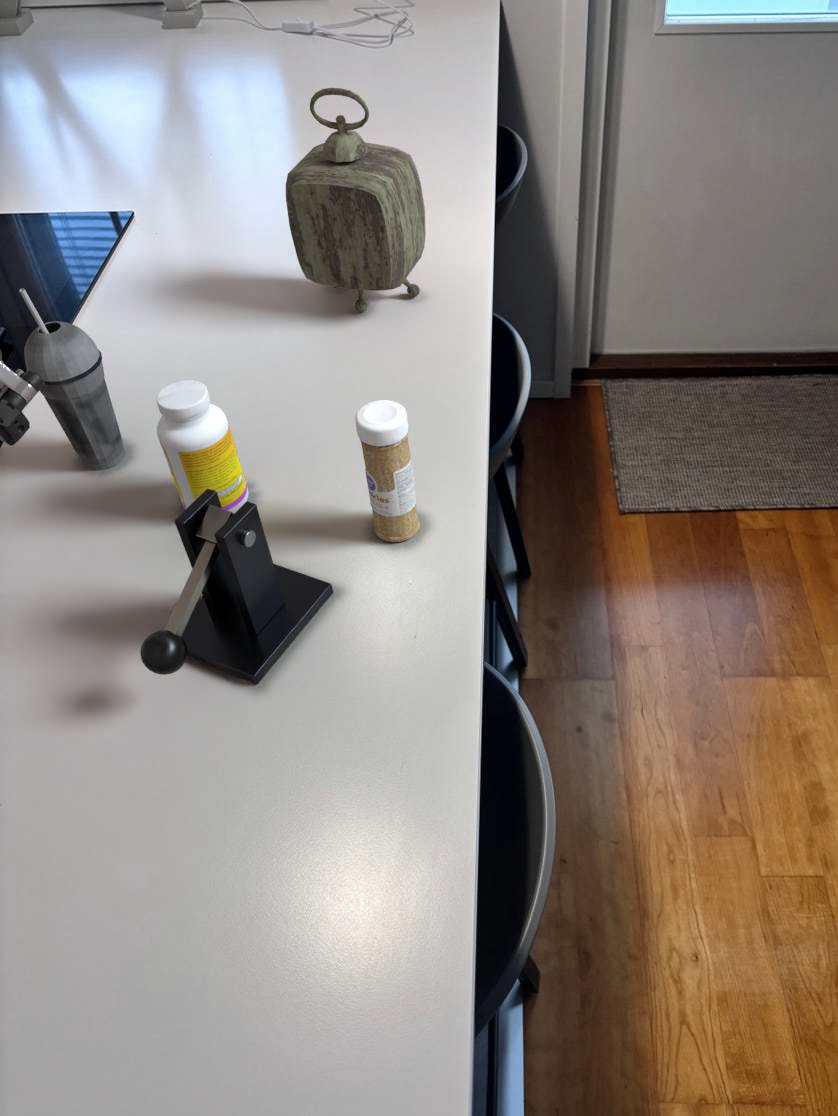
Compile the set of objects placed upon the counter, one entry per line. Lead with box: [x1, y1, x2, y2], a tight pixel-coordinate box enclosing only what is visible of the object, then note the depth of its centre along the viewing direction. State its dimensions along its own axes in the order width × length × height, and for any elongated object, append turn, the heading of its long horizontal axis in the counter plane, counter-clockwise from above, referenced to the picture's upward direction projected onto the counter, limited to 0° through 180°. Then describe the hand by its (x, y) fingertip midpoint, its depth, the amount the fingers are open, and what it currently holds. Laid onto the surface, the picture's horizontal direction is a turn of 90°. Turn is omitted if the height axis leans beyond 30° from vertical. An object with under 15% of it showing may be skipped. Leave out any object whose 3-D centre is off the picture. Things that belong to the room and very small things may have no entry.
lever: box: [140, 505, 235, 676], centre depth 79 cm, size 14×4×4 cm, turn 154°
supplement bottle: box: [155, 379, 249, 514], centre depth 95 cm, size 7×7×13 cm
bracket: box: [174, 489, 334, 685], centre depth 84 cm, size 12×10×13 cm
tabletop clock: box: [285, 87, 427, 313], centre depth 115 cm, size 14×9×25 cm, turn 72°
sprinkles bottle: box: [354, 399, 421, 543], centre depth 91 cm, size 5×5×13 cm
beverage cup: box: [18, 288, 126, 471], centre depth 98 cm, size 7×7×20 cm
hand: (13, 431), depth 69 cm, fingers closed
